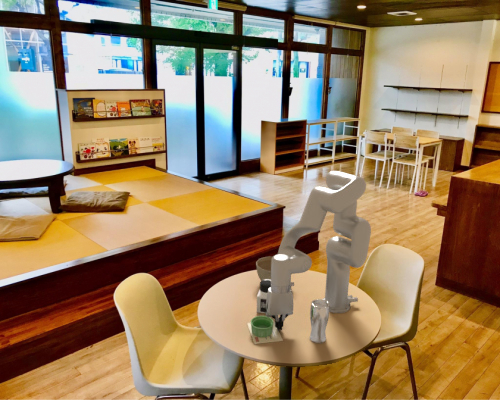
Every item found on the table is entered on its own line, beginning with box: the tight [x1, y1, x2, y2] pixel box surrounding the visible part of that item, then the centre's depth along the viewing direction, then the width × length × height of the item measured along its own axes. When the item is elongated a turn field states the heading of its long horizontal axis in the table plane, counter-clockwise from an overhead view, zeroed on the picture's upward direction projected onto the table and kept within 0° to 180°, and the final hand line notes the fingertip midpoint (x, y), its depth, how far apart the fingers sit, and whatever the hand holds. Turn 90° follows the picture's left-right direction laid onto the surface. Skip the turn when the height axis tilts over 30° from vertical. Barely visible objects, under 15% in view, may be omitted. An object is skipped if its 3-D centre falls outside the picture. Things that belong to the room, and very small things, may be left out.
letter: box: [246, 319, 284, 345], centre depth 164 cm, size 11×14×1 cm
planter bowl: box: [255, 256, 273, 282], centre depth 200 cm, size 16×16×11 cm
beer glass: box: [309, 298, 330, 344], centre depth 158 cm, size 7×7×15 cm
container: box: [256, 279, 271, 314], centre depth 178 cm, size 8×8×13 cm
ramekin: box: [250, 315, 275, 337], centre depth 163 cm, size 9×9×4 cm
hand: (279, 328), depth 165 cm, fingers closed
